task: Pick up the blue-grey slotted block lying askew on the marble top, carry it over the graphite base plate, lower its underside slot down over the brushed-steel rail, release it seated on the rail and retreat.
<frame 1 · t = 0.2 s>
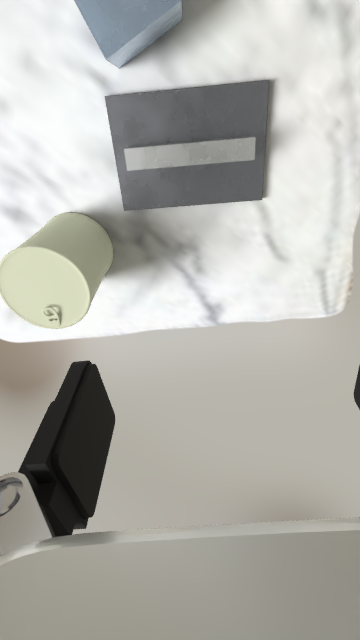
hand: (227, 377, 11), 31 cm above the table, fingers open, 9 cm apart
blue-grey slotted block: (130, 4, 28), on the table
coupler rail: (189, 151, 34), on the table
can: (78, 248, 41), on the table
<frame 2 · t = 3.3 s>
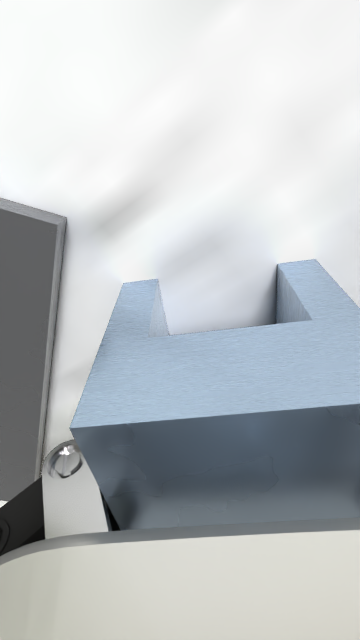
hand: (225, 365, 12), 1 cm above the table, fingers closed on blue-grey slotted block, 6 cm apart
blue-grey slotted block: (223, 353, 12), on the table, touching gripper
when the fingers open (2 cm above the table, at t = 8.0 s): blue-grey slotted block stays where it is, resting on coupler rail.
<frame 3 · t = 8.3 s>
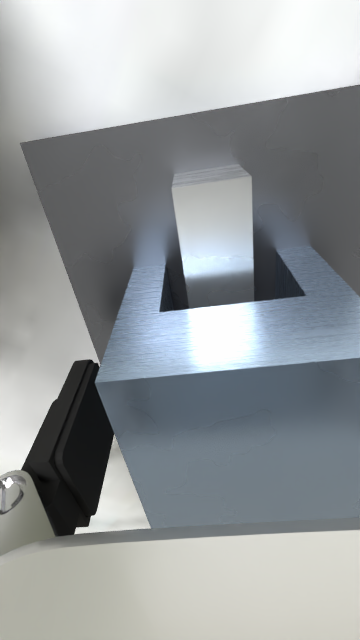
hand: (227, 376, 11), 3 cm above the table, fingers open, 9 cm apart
blue-grey slotted block: (225, 335, 13), point 1 cm above the table, touching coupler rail
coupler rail: (219, 325, 14), on the table
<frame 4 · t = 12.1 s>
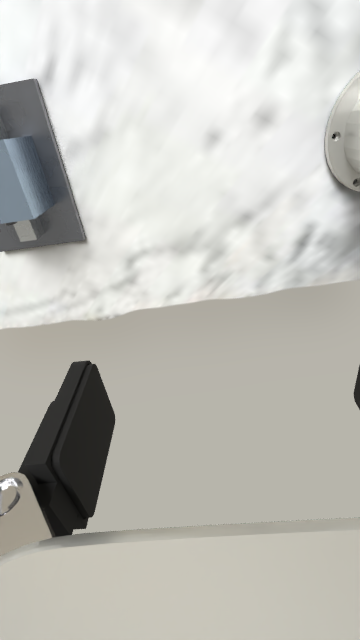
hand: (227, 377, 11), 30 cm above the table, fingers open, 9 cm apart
blue-grey slotted block: (16, 176, 35), point 1 cm above the table, touching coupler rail
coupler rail: (17, 175, 36), on the table
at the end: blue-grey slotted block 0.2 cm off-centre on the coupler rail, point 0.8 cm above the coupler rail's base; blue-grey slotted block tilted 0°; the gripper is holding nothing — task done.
